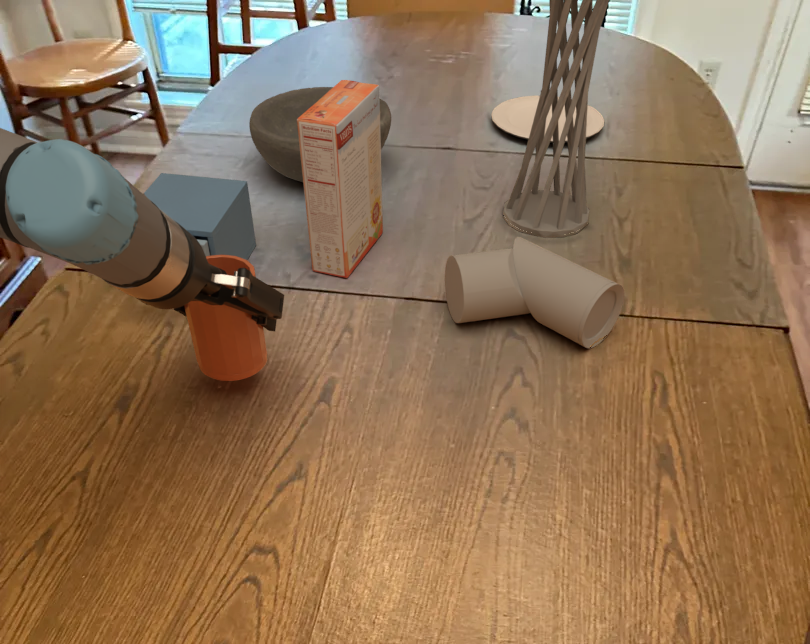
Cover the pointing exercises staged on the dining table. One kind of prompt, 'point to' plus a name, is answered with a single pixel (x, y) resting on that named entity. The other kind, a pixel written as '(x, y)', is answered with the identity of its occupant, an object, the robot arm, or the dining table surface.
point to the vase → (545, 207)
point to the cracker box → (342, 176)
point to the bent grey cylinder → (533, 291)
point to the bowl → (292, 128)
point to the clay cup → (226, 332)
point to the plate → (521, 113)
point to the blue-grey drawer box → (208, 210)
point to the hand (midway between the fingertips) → (237, 315)
